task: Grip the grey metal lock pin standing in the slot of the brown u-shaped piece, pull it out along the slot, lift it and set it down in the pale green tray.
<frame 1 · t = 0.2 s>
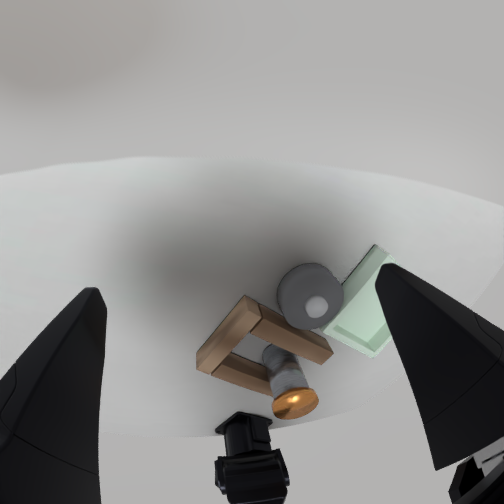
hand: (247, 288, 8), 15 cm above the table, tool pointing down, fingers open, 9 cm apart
lock pin: (286, 378, 26), in the brown u-shaped piece
tray: (370, 301, 28), on the table
pulley: (306, 291, 26), on the table
brown u-shaped piece: (278, 354, 29), on the table
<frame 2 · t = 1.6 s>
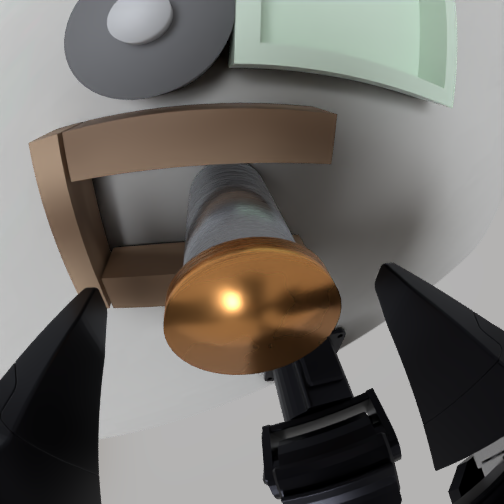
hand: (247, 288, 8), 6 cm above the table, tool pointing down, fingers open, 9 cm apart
lock pin: (236, 241, 9), in the brown u-shaped piece
pulley: (155, 30, 7), on the table
brown u-shaped piece: (227, 196, 13), on the table
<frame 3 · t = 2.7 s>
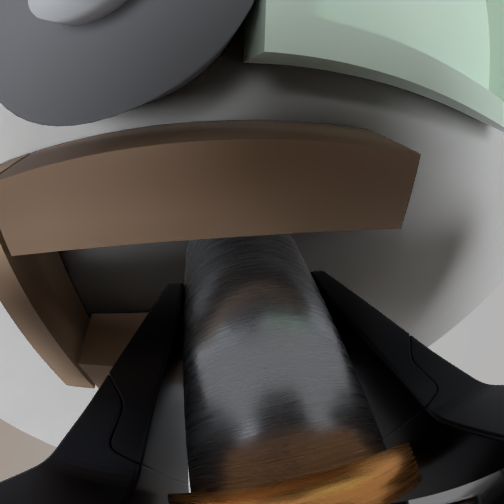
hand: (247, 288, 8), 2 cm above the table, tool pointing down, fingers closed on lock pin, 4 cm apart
lock pin: (262, 357, 6), in the brown u-shaped piece, touching gripper
pulley: (127, 7, 4), on the table
brown u-shaped piece: (240, 256, 9), on the table
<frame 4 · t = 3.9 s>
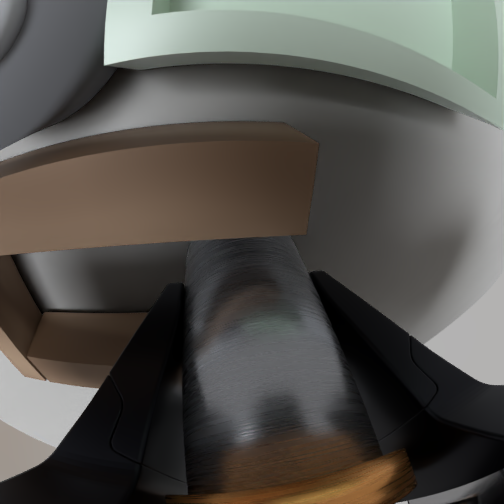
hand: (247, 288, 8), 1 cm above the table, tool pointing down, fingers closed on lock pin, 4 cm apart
lock pin: (261, 361, 6), in the brown u-shaped piece, touching gripper
pulley: (44, 34, 4), on the table
brown u-shaped piece: (160, 262, 9), on the table
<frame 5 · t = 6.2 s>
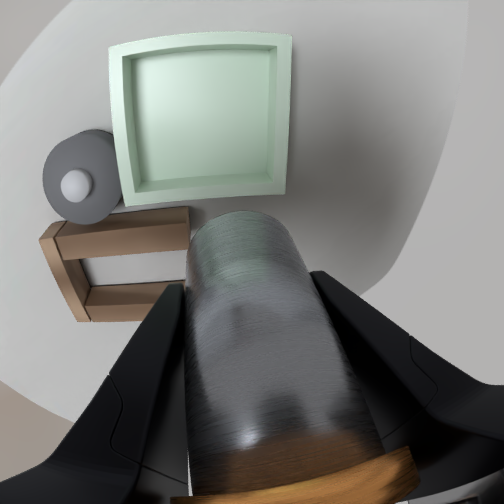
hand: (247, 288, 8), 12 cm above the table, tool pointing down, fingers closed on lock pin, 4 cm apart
lock pin: (263, 361, 6), point 14 cm above the table, touching gripper
tray: (200, 112, 15), on the table
pulley: (92, 170, 16), on the table
brown u-shaped piece: (148, 260, 21), on the table
when the fingers open (3 cm above the table, at t = 8.3 s): lock pin drops 1 cm, resting on tray.
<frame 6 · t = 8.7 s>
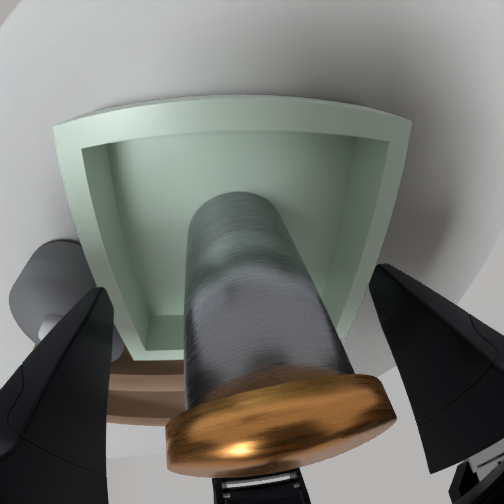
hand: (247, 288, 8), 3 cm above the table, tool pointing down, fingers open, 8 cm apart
lock pin: (253, 316, 7), in the tray, point 4 cm above the table
tray: (234, 225, 11), on the table
pulley: (76, 292, 11), on the table
brown u-shaped piece: (164, 374, 16), on the table
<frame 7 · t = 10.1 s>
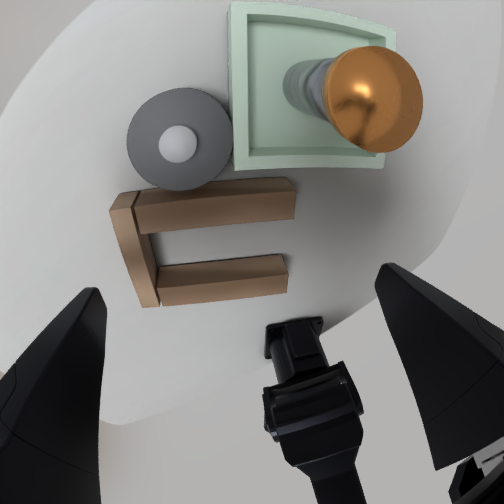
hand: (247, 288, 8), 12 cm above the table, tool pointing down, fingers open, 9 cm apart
lock pin: (337, 90, 11), in the tray, point 4 cm above the table
tray: (306, 85, 15), on the table
pulley: (182, 133, 15), on the table
brown u-shaped piece: (234, 234, 21), on the table
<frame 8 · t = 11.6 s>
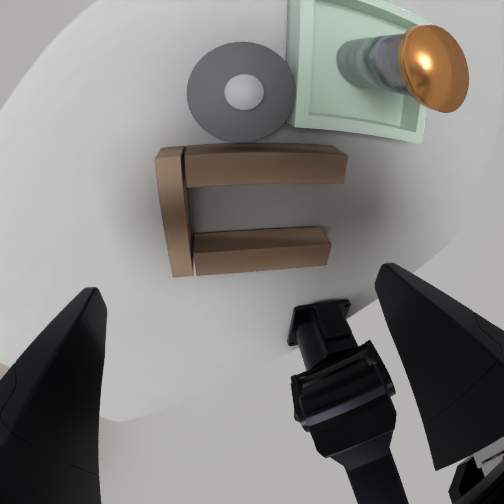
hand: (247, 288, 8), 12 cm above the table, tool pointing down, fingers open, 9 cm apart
lock pin: (394, 63, 10), in the tray, point 4 cm above the table
tray: (355, 62, 14), on the table
pulley: (237, 90, 15), on the table
brown u-shaped piece: (277, 201, 20), on the table
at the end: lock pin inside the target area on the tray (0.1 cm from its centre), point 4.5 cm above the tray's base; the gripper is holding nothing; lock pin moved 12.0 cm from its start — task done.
